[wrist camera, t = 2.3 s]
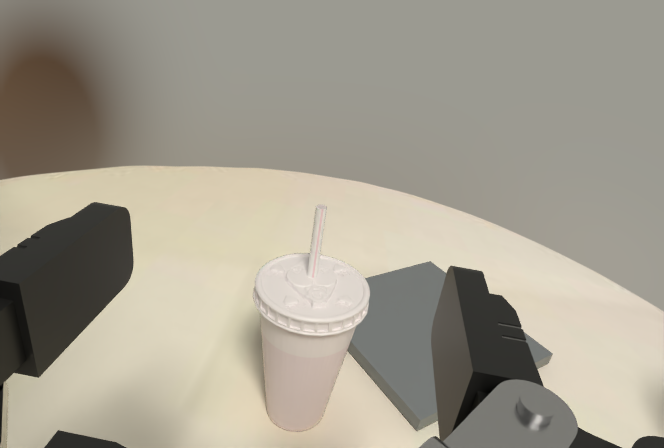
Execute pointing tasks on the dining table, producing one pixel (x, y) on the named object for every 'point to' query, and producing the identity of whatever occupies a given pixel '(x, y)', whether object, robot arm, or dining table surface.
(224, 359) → the dining table surface
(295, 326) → the smoothie
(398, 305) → the coaster
